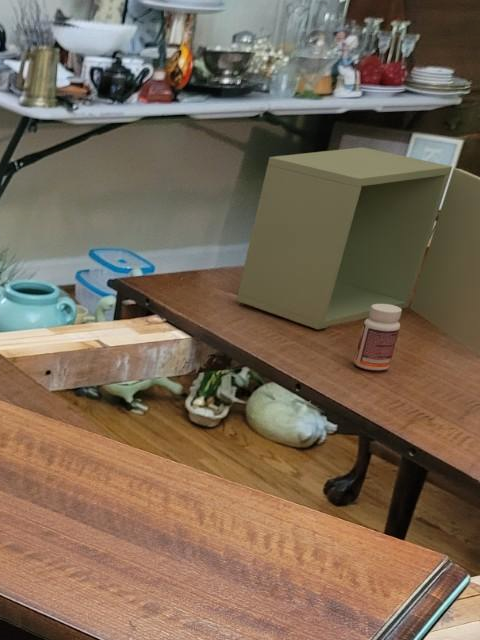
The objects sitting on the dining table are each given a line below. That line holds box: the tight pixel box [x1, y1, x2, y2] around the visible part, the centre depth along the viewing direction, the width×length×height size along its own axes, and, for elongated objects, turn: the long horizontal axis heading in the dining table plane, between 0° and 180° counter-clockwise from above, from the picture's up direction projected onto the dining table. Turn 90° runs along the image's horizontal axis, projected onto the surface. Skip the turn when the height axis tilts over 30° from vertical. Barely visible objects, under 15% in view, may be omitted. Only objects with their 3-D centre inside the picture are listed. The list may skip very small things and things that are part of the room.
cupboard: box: [236, 146, 453, 330], centre depth 176 cm, size 16×24×22 cm, turn 125°
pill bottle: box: [353, 304, 403, 371], centre depth 155 cm, size 5×5×8 cm
